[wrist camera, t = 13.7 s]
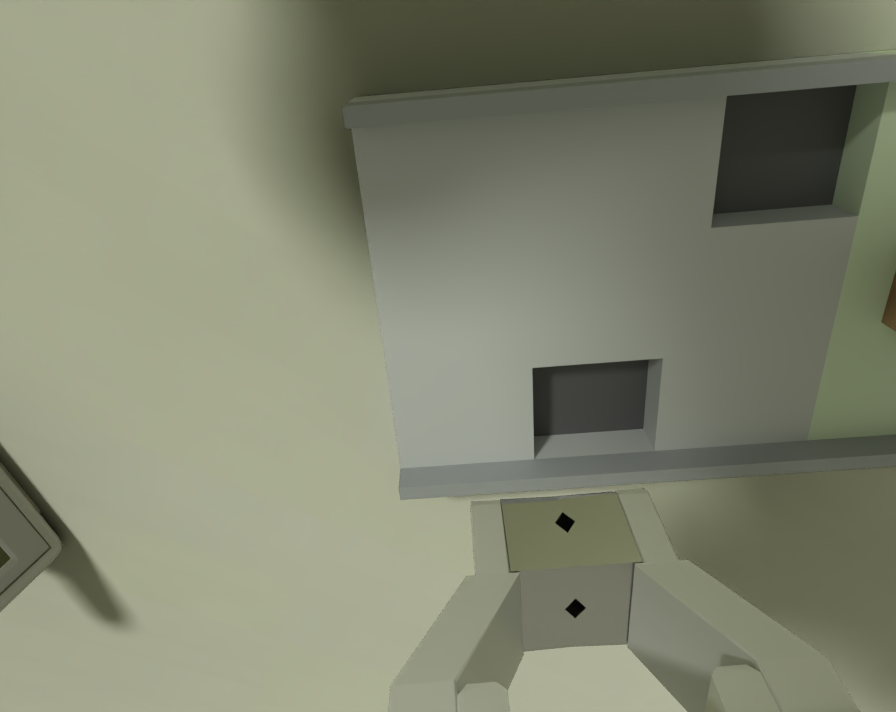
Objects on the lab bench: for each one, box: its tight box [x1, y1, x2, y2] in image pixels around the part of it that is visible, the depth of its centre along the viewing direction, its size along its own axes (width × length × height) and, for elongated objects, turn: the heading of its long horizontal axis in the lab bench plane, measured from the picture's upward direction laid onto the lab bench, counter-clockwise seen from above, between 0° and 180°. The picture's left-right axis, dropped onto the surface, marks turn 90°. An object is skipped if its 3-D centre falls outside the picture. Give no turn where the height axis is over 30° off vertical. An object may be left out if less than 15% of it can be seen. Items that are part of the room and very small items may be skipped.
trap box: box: [342, 49, 896, 500], centre depth 36 cm, size 24×36×6 cm, turn 95°
